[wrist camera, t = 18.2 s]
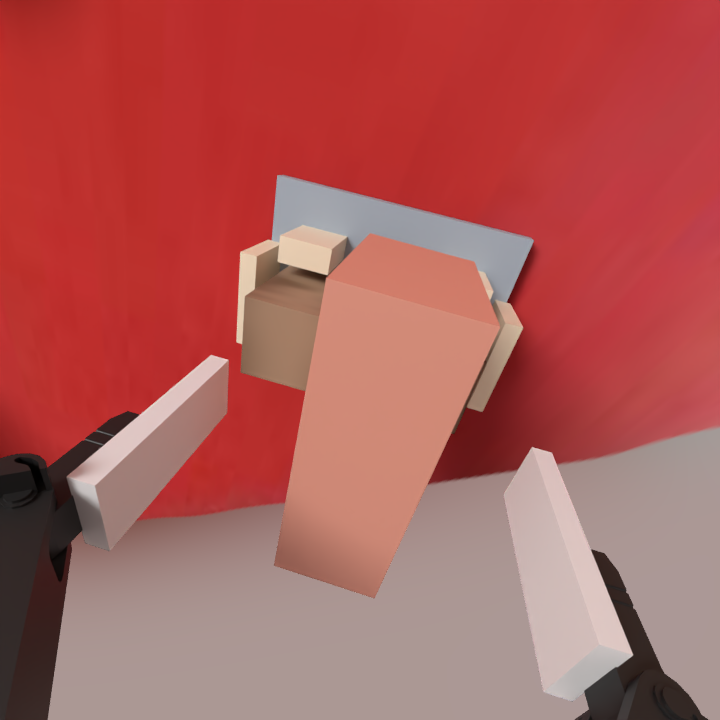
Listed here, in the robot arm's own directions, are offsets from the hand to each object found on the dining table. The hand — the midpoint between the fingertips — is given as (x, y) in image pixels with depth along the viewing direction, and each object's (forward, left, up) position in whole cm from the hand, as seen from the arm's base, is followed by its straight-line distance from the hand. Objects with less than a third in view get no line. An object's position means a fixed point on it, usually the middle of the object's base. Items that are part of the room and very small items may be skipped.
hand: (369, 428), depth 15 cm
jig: (-1, 0, -13) cm, 13 cm away
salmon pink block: (0, 0, -4) cm, 4 cm away
